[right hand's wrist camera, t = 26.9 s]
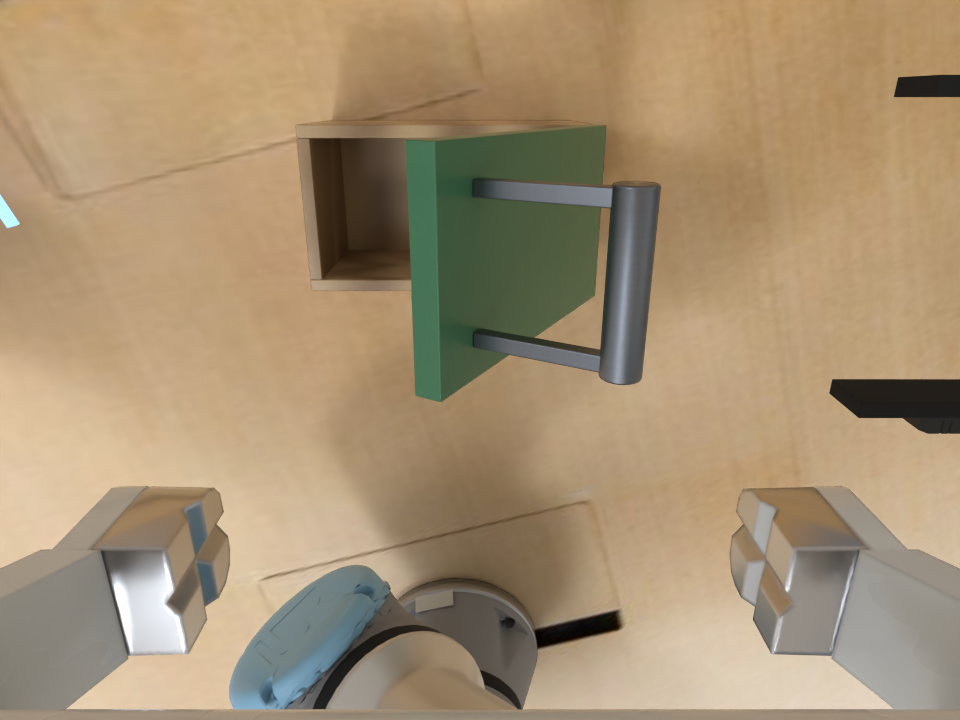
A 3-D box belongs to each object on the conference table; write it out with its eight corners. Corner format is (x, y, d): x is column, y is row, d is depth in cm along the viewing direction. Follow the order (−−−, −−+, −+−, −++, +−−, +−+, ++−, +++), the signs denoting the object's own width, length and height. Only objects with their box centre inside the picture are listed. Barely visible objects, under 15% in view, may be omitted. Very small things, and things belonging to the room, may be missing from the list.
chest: (341, 257, 50) (311, 291, 41) (330, 120, 47) (294, 124, 38) (565, 257, 50) (583, 291, 41) (572, 120, 47) (594, 124, 38)
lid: (415, 396, 27) (613, 445, 23) (404, 139, 23) (638, 147, 19) (575, 293, 41) (714, 312, 37) (585, 125, 37) (740, 127, 33)
